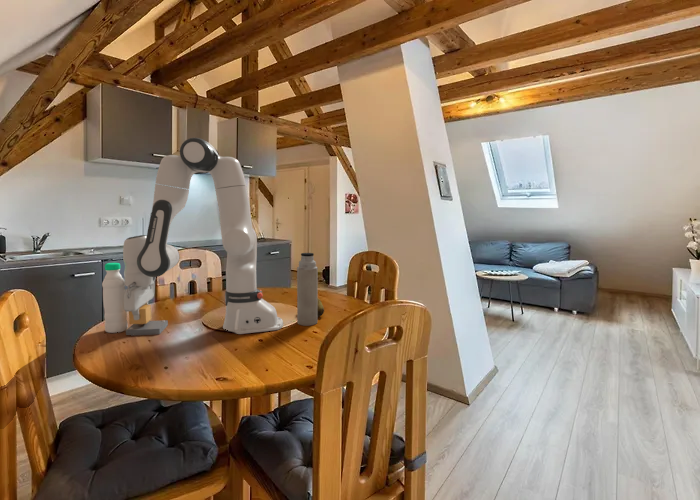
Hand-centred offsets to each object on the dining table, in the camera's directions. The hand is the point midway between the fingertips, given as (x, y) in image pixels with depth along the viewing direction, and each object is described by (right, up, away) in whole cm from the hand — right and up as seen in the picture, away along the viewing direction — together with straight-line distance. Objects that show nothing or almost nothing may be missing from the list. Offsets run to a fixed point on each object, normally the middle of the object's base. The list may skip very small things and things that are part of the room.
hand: (140, 316), depth 138 cm
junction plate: (+3, -5, 0) cm, 6 cm away
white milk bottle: (-9, -5, 0) cm, 10 cm away
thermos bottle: (+60, -5, +12) cm, 61 cm away
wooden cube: (0, -2, 0) cm, 2 cm away
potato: (+61, -3, +23) cm, 65 cm away
